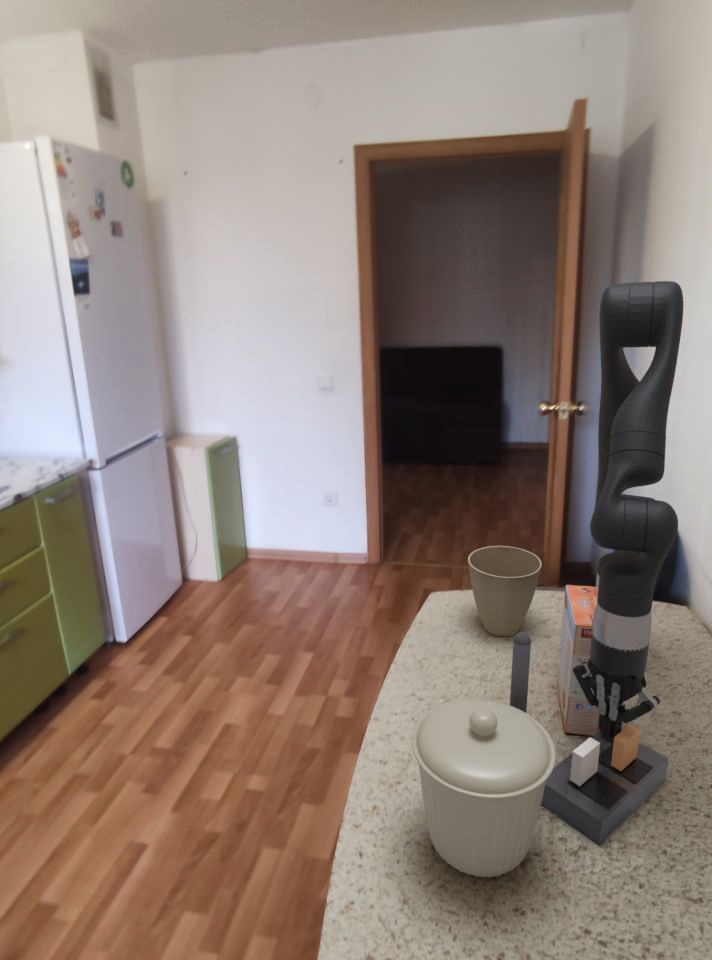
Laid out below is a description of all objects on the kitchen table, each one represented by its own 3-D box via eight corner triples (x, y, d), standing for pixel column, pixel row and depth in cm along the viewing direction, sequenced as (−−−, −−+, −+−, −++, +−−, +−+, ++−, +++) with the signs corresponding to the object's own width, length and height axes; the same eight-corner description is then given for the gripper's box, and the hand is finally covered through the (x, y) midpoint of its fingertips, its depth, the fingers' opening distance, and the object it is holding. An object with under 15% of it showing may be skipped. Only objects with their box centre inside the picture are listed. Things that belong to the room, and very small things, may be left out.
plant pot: (452, 621, 144) (453, 554, 139) (506, 604, 151) (509, 540, 146) (495, 654, 132) (498, 583, 127) (552, 635, 138) (557, 566, 133)
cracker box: (601, 738, 108) (613, 627, 101) (562, 734, 109) (572, 623, 103) (589, 687, 121) (600, 585, 114) (555, 683, 122) (564, 582, 116)
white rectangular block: (587, 765, 96) (590, 737, 95) (597, 771, 95) (600, 742, 94) (569, 779, 94) (572, 751, 92) (579, 786, 93) (582, 757, 91)
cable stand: (509, 756, 105) (517, 615, 97) (547, 780, 100) (558, 634, 92) (480, 777, 101) (486, 632, 93) (518, 804, 95) (527, 653, 87)
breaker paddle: (626, 751, 99) (630, 723, 97) (636, 757, 98) (640, 729, 96) (610, 765, 96) (614, 737, 95) (621, 771, 95) (624, 742, 93)
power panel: (604, 745, 107) (607, 723, 105) (665, 780, 99) (668, 756, 98) (537, 801, 96) (539, 778, 94) (599, 845, 88) (602, 820, 87)
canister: (544, 801, 96) (554, 678, 89) (550, 916, 79) (563, 775, 73) (420, 783, 100) (421, 663, 93) (401, 888, 83) (401, 752, 77)
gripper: (680, 643, 90) (664, 747, 95) (593, 607, 99) (583, 703, 105) (652, 664, 85) (637, 772, 91) (564, 624, 95) (555, 723, 100)
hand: (608, 735), depth 98 cm, fingers closed
